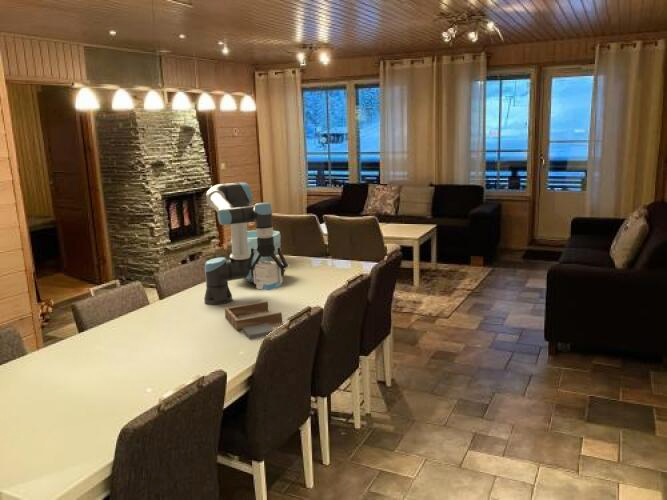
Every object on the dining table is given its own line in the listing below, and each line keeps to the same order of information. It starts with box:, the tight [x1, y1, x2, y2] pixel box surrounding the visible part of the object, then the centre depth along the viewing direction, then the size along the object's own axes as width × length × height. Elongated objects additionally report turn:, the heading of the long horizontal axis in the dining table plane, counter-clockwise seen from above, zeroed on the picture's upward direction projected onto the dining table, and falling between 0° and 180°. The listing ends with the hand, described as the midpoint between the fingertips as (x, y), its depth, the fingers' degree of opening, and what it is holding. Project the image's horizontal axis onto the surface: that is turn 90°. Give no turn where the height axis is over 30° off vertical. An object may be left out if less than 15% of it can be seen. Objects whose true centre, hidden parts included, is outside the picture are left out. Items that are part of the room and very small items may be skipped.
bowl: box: [230, 229, 282, 262], centre depth 395 cm, size 35×35×22 cm
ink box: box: [255, 260, 282, 291], centre depth 263 cm, size 9×8×13 cm
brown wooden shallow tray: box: [224, 300, 283, 332], centre depth 275 cm, size 23×22×5 cm
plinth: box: [242, 323, 275, 340], centre depth 257 cm, size 12×12×2 cm
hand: (268, 282), depth 263 cm, fingers closed on ink box, 11 cm apart
